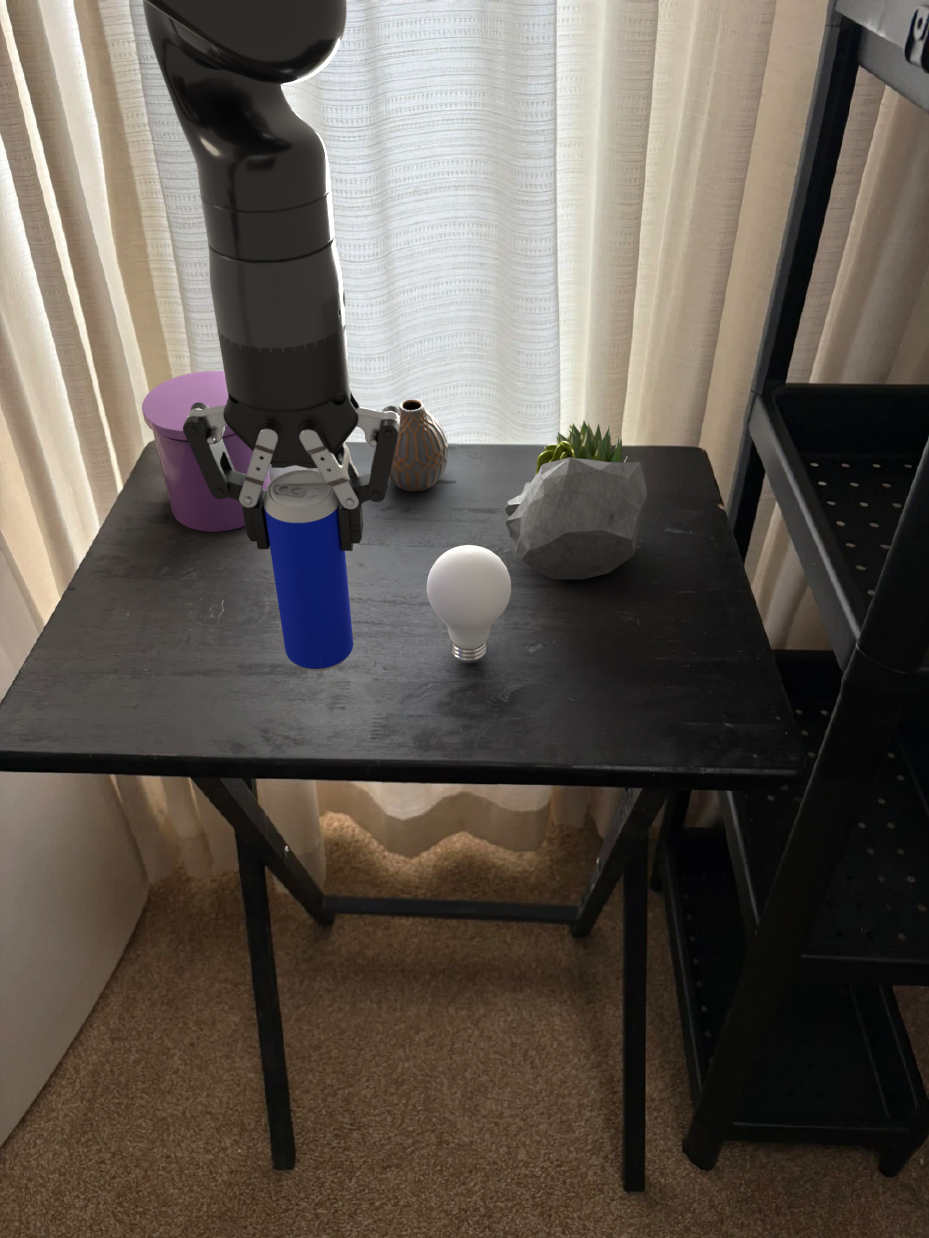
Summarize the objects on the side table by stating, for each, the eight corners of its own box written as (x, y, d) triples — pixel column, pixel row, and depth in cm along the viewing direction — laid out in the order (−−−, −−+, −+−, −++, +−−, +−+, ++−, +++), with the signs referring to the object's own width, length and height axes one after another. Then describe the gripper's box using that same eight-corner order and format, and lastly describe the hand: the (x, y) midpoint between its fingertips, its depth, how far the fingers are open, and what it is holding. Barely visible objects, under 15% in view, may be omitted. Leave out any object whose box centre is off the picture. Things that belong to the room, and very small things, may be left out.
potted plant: (482, 567, 90) (475, 438, 98) (583, 617, 97) (569, 492, 105) (584, 499, 82) (568, 365, 90) (685, 558, 89) (662, 429, 98)
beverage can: (359, 631, 81) (345, 469, 71) (347, 677, 77) (331, 513, 67) (294, 626, 81) (271, 464, 71) (279, 672, 77) (253, 508, 67)
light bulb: (473, 620, 90) (473, 517, 82) (525, 660, 86) (530, 557, 78) (413, 654, 86) (407, 551, 79) (464, 698, 83) (463, 593, 75)
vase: (462, 479, 106) (462, 404, 100) (414, 508, 102) (411, 431, 96) (415, 454, 109) (412, 380, 103) (367, 481, 106) (361, 405, 100)
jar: (154, 534, 99) (127, 431, 91) (180, 470, 107) (157, 370, 100) (268, 535, 99) (251, 431, 91) (285, 471, 107) (271, 371, 99)
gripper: (143, 341, 58) (193, 575, 69) (397, 345, 58) (406, 579, 69) (173, 285, 64) (215, 510, 75) (405, 289, 64) (413, 513, 75)
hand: (307, 542), depth 72 cm, fingers closed on beverage can, 5 cm apart
